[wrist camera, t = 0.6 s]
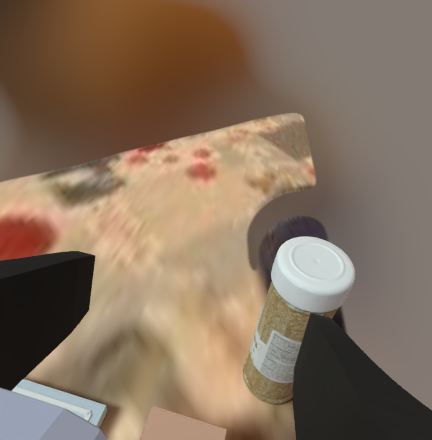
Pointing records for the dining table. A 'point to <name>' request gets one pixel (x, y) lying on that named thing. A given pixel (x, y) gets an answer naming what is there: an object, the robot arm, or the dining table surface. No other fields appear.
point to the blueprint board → (64, 401)
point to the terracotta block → (178, 427)
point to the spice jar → (294, 311)
